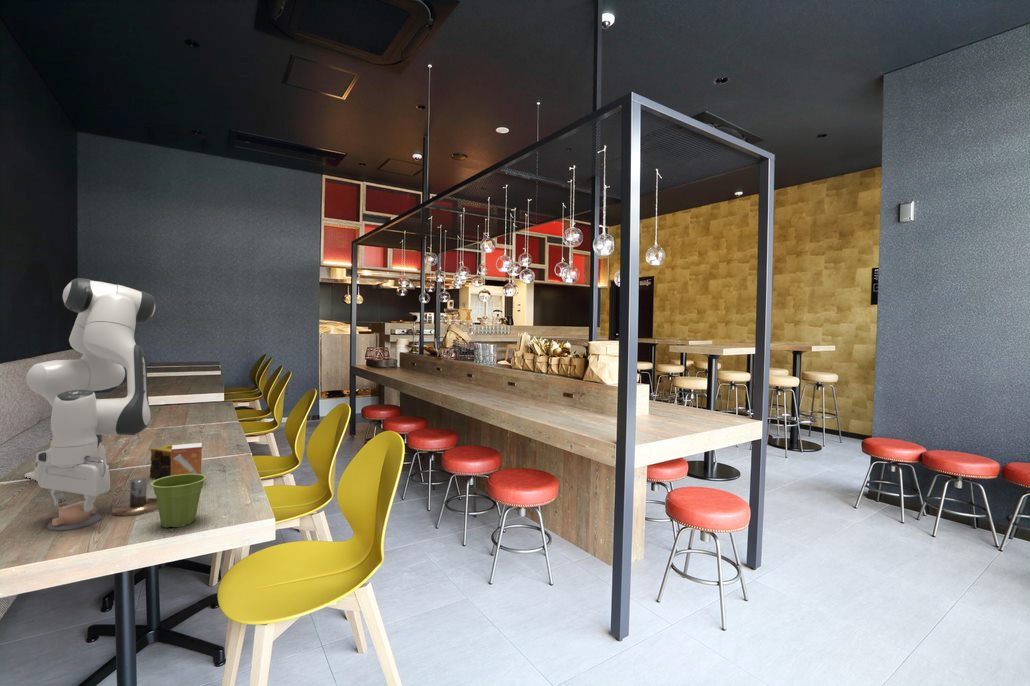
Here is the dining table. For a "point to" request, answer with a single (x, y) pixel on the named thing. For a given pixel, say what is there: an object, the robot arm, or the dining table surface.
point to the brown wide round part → (136, 500)
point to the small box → (186, 459)
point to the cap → (72, 514)
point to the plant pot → (178, 498)
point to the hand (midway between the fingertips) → (73, 508)
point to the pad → (92, 520)
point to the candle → (161, 461)
